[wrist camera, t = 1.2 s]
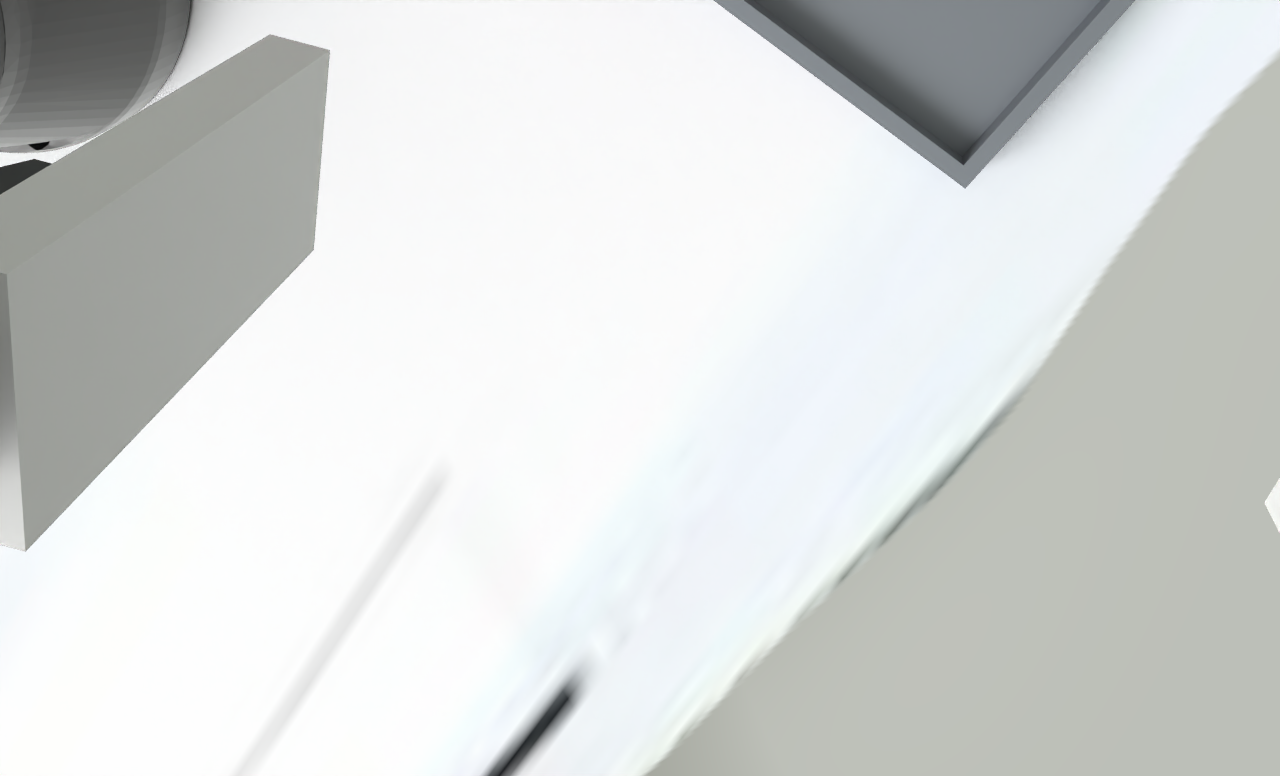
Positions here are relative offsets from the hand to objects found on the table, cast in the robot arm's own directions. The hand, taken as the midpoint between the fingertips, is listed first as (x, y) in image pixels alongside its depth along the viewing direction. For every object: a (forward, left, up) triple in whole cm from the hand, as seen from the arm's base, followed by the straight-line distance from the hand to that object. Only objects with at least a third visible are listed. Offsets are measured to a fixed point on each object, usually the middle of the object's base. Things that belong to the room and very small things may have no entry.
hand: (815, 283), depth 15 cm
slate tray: (+1, 0, -29) cm, 29 cm away
